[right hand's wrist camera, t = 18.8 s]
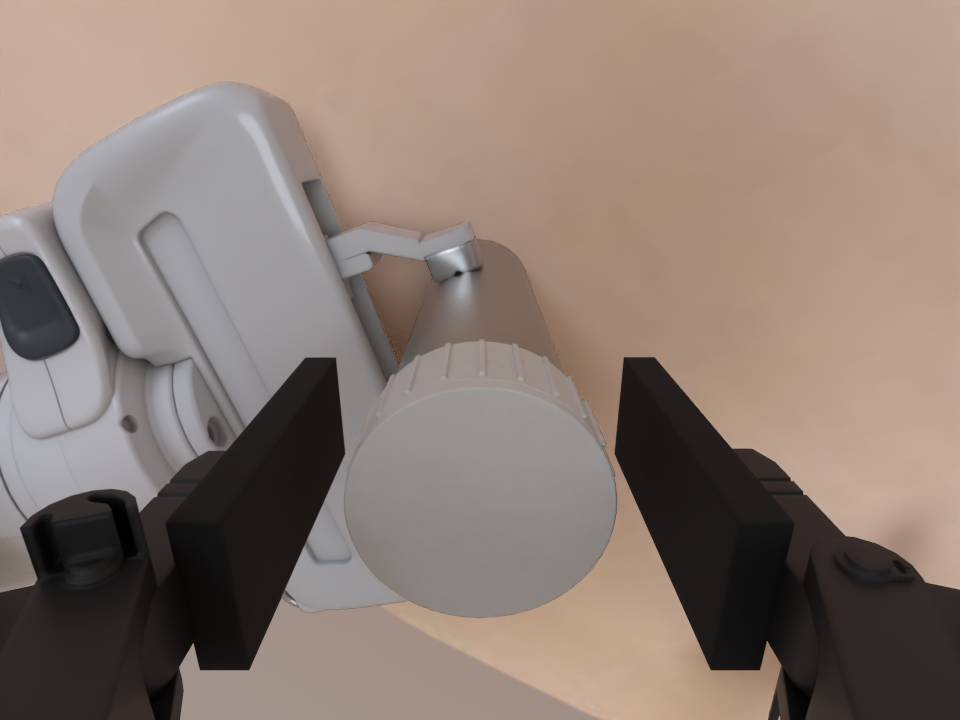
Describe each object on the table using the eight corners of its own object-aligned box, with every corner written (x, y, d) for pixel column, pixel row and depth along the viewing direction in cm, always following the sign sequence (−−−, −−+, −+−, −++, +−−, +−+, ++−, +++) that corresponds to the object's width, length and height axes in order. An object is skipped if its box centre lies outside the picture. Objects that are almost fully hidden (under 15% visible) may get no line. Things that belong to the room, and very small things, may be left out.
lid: (601, 529, 13) (626, 608, 11) (388, 551, 13) (368, 633, 11) (588, 323, 11) (616, 366, 9) (343, 352, 12) (309, 402, 9)
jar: (416, 309, 27) (324, 536, 11) (457, 222, 25) (421, 339, 10) (500, 349, 28) (528, 617, 12) (545, 267, 26) (647, 445, 10)
